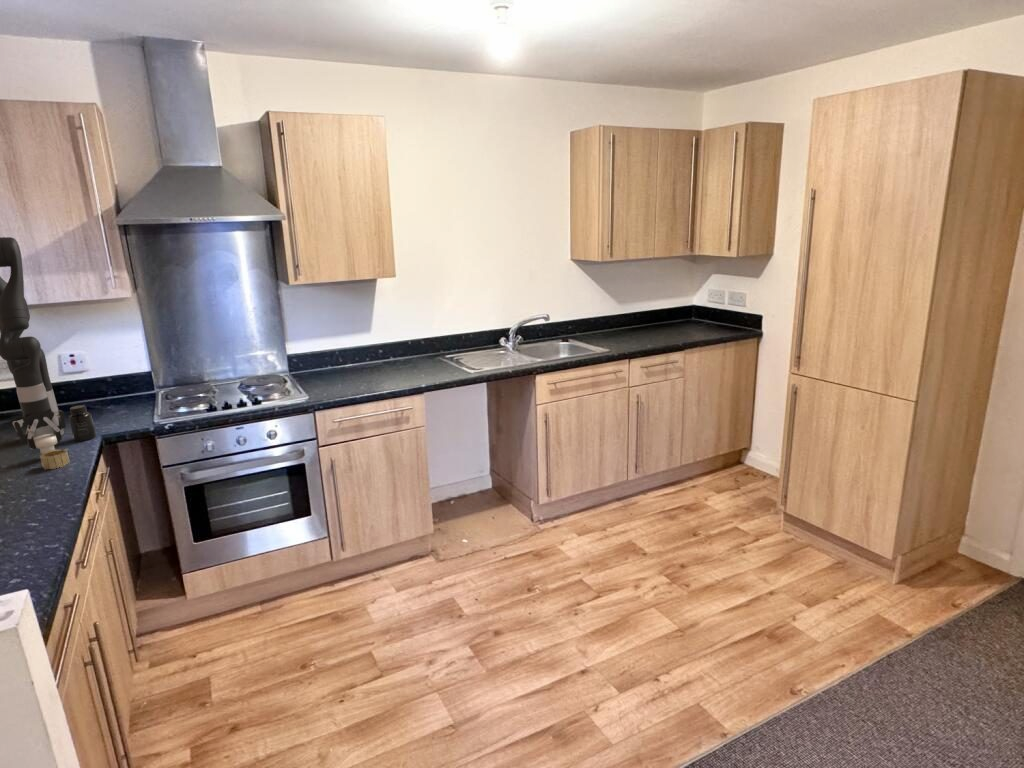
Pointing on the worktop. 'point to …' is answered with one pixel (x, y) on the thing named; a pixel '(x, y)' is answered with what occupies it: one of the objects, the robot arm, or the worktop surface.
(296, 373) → the worktop surface
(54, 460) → the wooden slatted bowl
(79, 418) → the supplement bottle
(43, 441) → the cap
